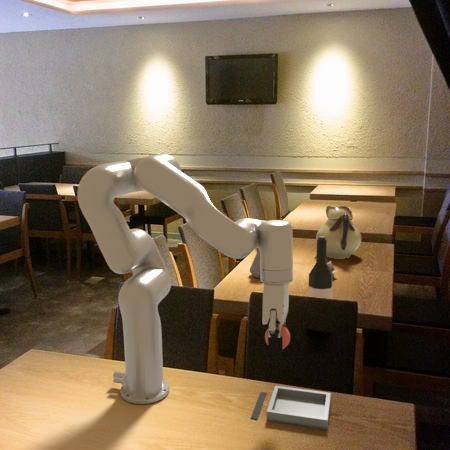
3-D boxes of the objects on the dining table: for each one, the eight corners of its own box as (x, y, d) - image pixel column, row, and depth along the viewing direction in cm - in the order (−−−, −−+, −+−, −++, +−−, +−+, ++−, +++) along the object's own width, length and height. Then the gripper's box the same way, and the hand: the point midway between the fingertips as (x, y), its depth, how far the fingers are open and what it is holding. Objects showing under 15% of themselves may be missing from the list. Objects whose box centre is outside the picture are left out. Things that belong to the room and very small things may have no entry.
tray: (266, 421, 117) (266, 411, 116) (275, 394, 128) (275, 385, 128) (327, 430, 113) (327, 420, 113) (330, 401, 125) (330, 392, 124)
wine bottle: (328, 314, 181) (331, 233, 175) (334, 323, 173) (337, 239, 166) (305, 314, 181) (307, 234, 174) (310, 324, 172) (312, 239, 166)
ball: (263, 353, 117) (262, 329, 116) (267, 342, 123) (267, 319, 122) (288, 355, 115) (288, 331, 114) (292, 344, 121) (291, 321, 120)
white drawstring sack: (334, 248, 273) (335, 203, 268) (371, 257, 255) (373, 209, 250) (307, 256, 259) (308, 208, 254) (344, 266, 241) (346, 215, 236)
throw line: (250, 418, 118) (250, 418, 118) (260, 392, 129) (260, 391, 129) (257, 419, 118) (257, 418, 118) (266, 393, 129) (266, 392, 129)
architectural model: (337, 278, 223) (338, 262, 222) (330, 282, 218) (331, 265, 217) (330, 276, 225) (330, 261, 224) (323, 280, 220) (323, 264, 219)
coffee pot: (269, 281, 218) (269, 248, 215) (245, 277, 224) (245, 245, 220) (286, 268, 237) (287, 238, 234) (264, 265, 242) (264, 235, 239)
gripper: (267, 263, 125) (268, 330, 128) (253, 284, 108) (255, 361, 112) (297, 264, 123) (297, 332, 126) (287, 286, 106) (288, 364, 110)
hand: (277, 345), depth 119 cm, fingers closed on ball, 5 cm apart
